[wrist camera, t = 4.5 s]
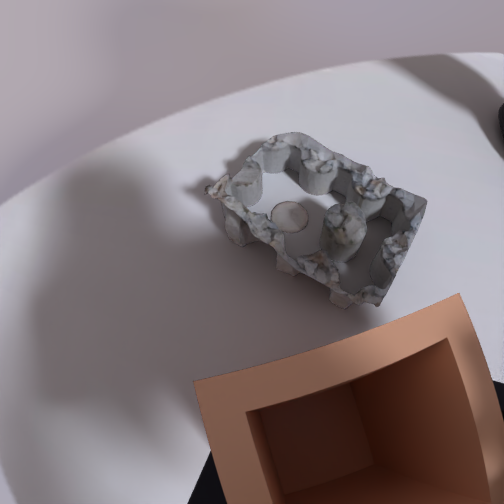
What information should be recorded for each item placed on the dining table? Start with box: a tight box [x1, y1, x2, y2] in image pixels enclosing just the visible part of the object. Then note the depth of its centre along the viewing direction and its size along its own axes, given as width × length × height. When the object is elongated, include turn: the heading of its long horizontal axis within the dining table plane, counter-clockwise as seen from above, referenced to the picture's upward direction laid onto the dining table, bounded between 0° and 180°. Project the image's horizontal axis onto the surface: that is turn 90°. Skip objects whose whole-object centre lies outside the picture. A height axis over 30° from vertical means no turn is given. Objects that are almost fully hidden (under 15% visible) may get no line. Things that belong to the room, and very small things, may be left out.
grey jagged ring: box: [205, 132, 427, 309], centre depth 17 cm, size 11×8×4 cm
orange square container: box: [193, 293, 504, 504], centre depth 9 cm, size 6×6×10 cm
